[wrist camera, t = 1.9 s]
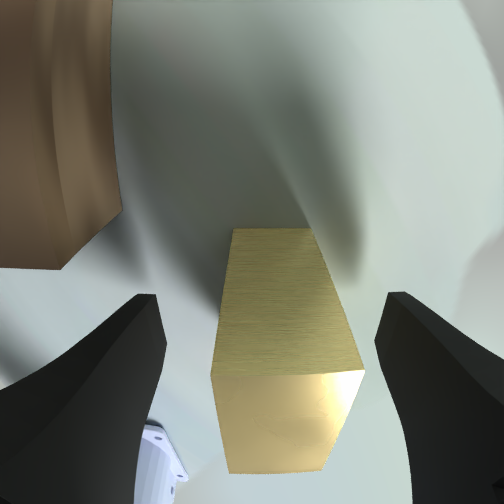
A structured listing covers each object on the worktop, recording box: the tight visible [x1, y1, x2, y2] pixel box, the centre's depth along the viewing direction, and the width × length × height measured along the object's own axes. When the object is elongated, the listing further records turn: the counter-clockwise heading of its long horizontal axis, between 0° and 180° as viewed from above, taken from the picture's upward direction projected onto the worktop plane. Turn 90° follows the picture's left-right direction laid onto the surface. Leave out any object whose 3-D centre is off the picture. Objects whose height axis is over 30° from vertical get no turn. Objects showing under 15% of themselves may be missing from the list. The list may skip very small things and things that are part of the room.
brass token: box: [211, 228, 365, 474], centre depth 8 cm, size 4×2×6 cm, turn 1°
